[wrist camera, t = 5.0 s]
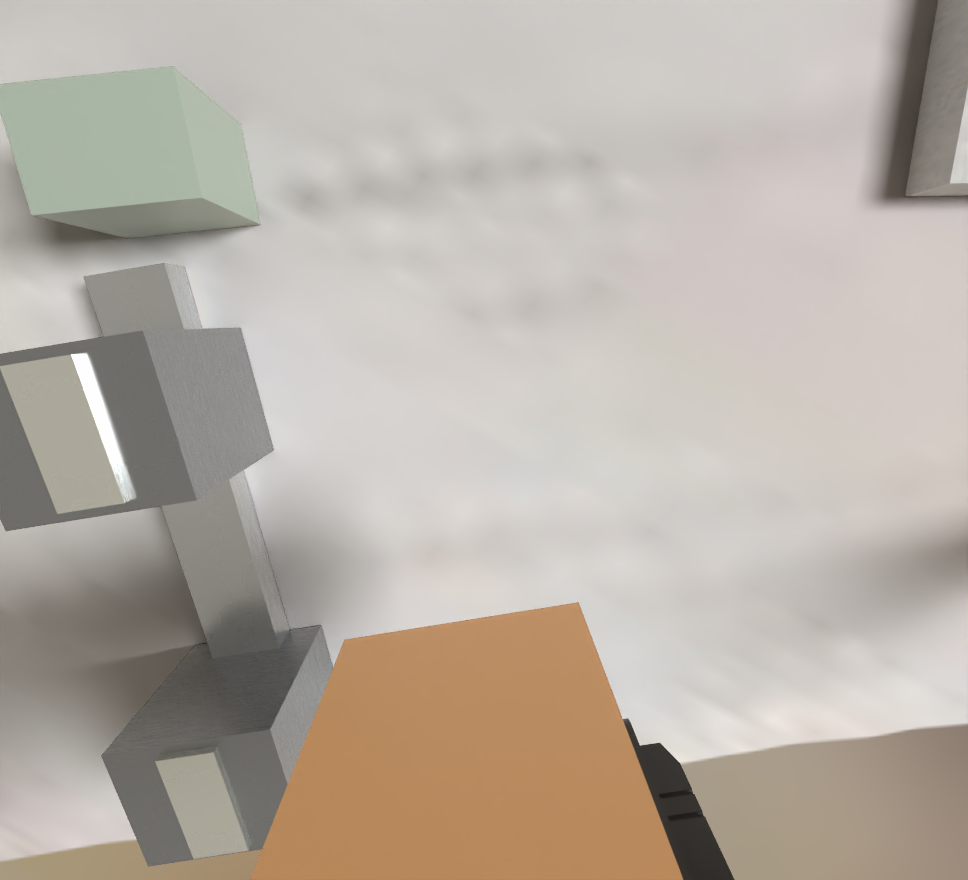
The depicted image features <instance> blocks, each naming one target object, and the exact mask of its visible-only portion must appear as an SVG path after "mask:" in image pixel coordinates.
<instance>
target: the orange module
mask: <svg viewBox="0 0 968 880" xmlns="http://www.w3.org/2000/svg"><path fill="white" fill-rule="evenodd" d="M250 880H683V877H682V875H681V872H680V869H679V867H678V864H677V861H676V859H675V856H674V854H673V851H672V848H671V846H670V843H669V840H668V838H667V835H666V832H665V830H664V827H663V824H662V822H661V819H660V817H659V814H658V811H657V809H656V806H655V803H654V801H653V798H652V795H651V793H650V790H649V787H648V785H647V782H646V780H645V777H644V774H643V772H642V769H641V766H640V764H639V761H638V758H637V756H636V753H635V750H634V748H633V745H632V743H631V740H630V737H629V735H628V732H627V729H626V727H625V724H624V721H623V719H622V716H621V713H620V711H619V708H618V706H617V703H616V700H615V698H614V695H613V692H612V690H611V687H610V684H609V682H608V679H607V676H606V674H605V671H604V669H603V666H602V663H601V661H600V658H599V655H598V653H597V650H596V647H595V645H594V642H593V639H592V637H591V634H590V632H589V629H588V626H587V624H586V621H585V618H584V616H583V613H582V610H581V608H580V605H579V602H578V603H572V604H566V605H559V606H553V607H547V608H541V609H534V610H528V611H522V612H515V613H509V614H503V615H497V616H490V617H484V618H478V619H471V620H465V621H459V622H453V623H446V624H440V625H434V626H428V627H421V628H415V629H409V630H402V631H396V632H390V633H384V634H377V635H371V636H365V637H359V638H352V639H346V640H344V642H343V645H342V647H341V650H340V652H339V655H338V658H337V660H336V663H335V665H334V668H333V670H332V673H331V675H330V678H329V680H328V683H327V686H326V688H325V691H324V693H323V696H322V698H321V701H320V703H319V706H318V709H317V711H316V714H315V716H314V719H313V721H312V724H311V726H310V729H309V731H308V734H307V737H306V739H305V742H304V744H303V747H302V749H301V752H300V754H299V757H298V759H297V762H296V765H295V767H294V770H293V772H292V775H291V777H290V780H289V782H288V785H287V787H286V790H285V793H284V795H283V798H282V800H281V803H280V805H279V808H278V810H277V813H276V815H275V818H274V821H273V823H272V826H271V828H270V831H269V833H268V836H267V838H266V841H265V844H264V846H263V849H262V851H261V854H260V856H259V859H258V861H257V864H256V867H255V869H254V872H253V874H252V877H251V879H250Z"/></svg>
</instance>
